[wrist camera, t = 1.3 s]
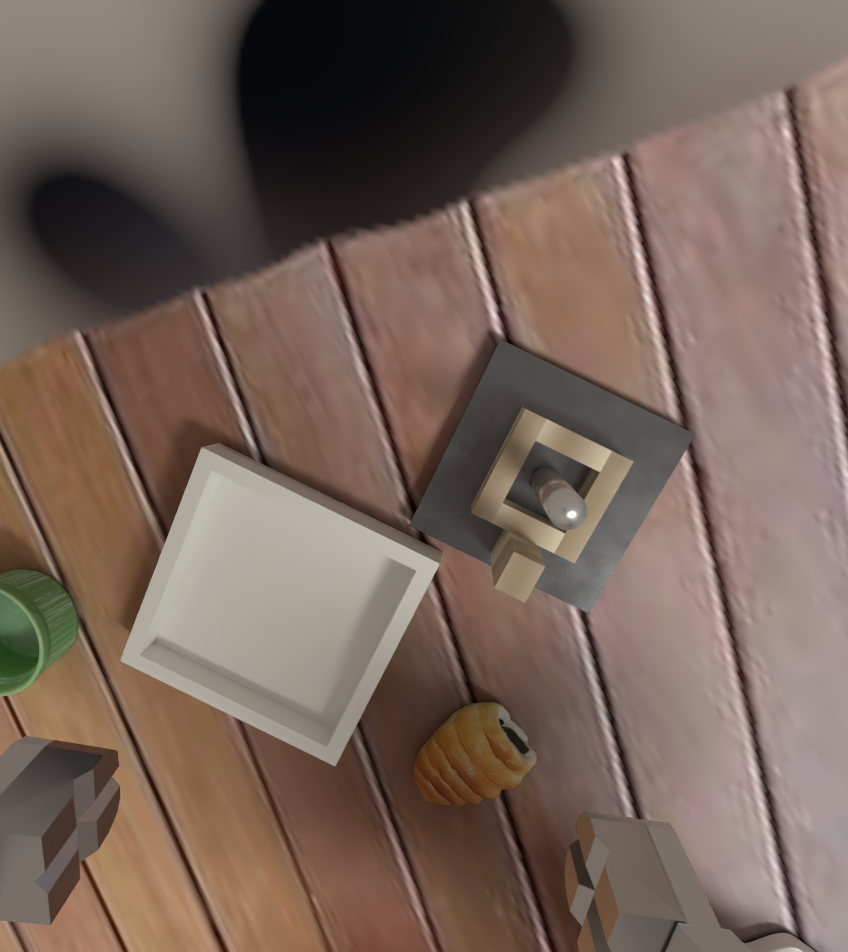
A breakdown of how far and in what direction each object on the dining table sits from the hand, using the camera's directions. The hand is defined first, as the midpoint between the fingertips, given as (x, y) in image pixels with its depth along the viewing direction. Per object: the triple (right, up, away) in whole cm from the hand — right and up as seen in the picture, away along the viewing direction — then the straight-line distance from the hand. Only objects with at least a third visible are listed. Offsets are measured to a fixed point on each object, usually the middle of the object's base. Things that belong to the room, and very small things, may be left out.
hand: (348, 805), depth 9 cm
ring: (+9, +4, +26) cm, 28 cm away
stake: (+10, +6, +27) cm, 29 cm away
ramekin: (-30, -5, +33) cm, 45 cm away
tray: (-9, -4, +30) cm, 32 cm away
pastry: (+5, -15, +31) cm, 35 cm away
